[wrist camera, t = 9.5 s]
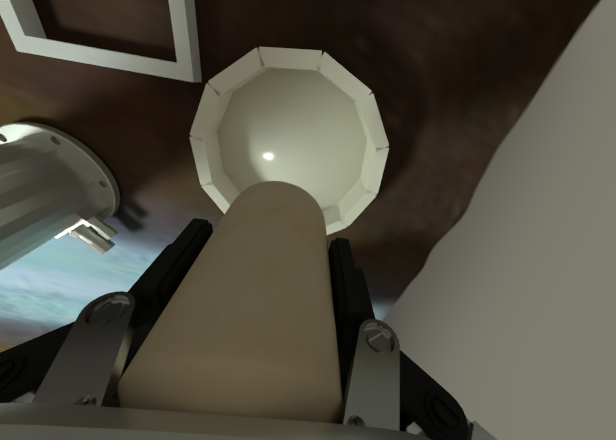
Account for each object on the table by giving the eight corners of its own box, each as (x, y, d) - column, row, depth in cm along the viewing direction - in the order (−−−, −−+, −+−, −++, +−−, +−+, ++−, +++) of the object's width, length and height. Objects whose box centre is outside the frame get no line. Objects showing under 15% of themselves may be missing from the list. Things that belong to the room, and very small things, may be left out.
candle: (225, 173, 11) (-39, 469, 3) (333, 185, 11) (394, 487, 3) (233, 254, 14) (118, 513, 6) (317, 262, 14) (326, 521, 6)
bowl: (393, 186, 27) (406, 203, 23) (268, 239, 31) (263, 260, 28) (335, 6, 18) (341, -12, 14) (174, 115, 23) (148, 122, 19)
